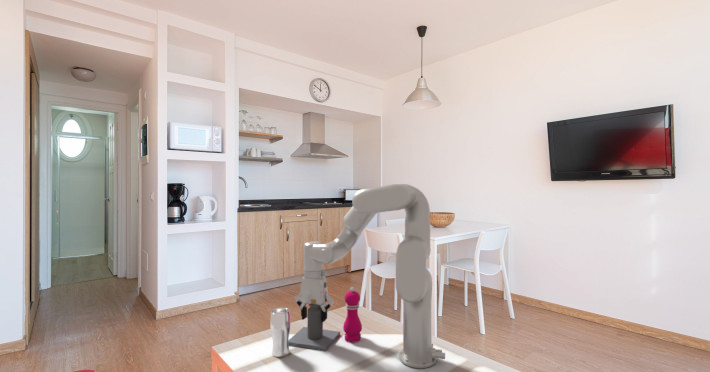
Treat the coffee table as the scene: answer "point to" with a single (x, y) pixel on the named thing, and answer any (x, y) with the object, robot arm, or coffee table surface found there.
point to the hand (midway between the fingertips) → (314, 319)
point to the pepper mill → (352, 317)
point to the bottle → (314, 321)
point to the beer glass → (280, 331)
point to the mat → (321, 344)
